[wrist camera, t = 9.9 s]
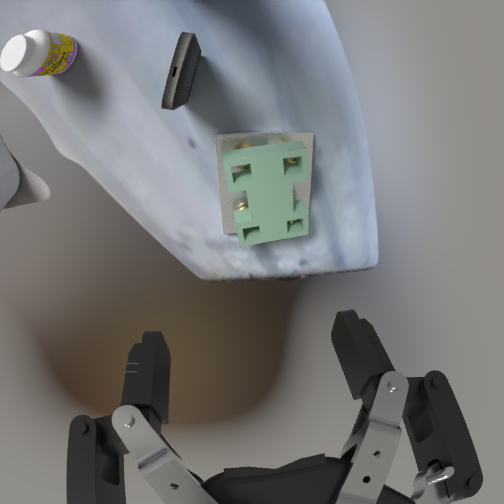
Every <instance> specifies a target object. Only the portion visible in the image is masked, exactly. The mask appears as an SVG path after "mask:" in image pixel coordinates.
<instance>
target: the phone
mask: <svg viewBox="0 0 504 504" xmlns="http://www.w3.org/2000/svg"><path fill="white" fill-rule="evenodd" d="M200 56H201V49H200V46H199V43H198V41H197V38H196V35H195V34H194V33H187V32H182V33H181V35H180V37H179V40H178V43H177V46H176V49H175V53H174V56H173V60H172V63H171V67H170V71H169V74H168V78H167V82H166V86H165V90H164V94H163V99H162V109H170V110H175V109H177V108H178V107H180V106H182V105H184V104H186V103H187V102H188V99H189V95H190V92H191V88H192V84H193V80H194V77H195V73H196V70H197V66H198V63H199V59H200Z"/></svg>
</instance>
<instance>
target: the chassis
mask: <svg viewBox="0 0 504 504" xmlns="http://www.w3.org/2000/svg"><path fill="white" fill-rule="evenodd" d="M300 140H301V141H302V142H303V143H304V144H305V146H306V147H307V148H308V167H309V180H306V181H299V182H292V185H293V201H294V200H301V199H303V200H304V202H305V204H306V206H307V208H308V210H309V202H310V188H311V172H312V154H313V132H311V131H255V132H236V133H222V134H216V146H217V160H218V174H219V186H220V198H221V210H222V221H223V232H224V234H231V233H237V229H236V224H235V217H234V211H236V210H241V209H247V208H248V202H247V196H246V190H243V191H237V192H232V193H229V190H228V185H227V180H226V175H225V171H224V166H223V159H222V152H225V151H231V150H236V149H242V148H248V147H255V146H261V145H268V144H275V143H283V142H291V141H300ZM292 163H296V157H291V158H284V159H283V164H284V165H285V164H292ZM231 170H232V173H235V172H240V171H246V170H250V167H249V164H245V165H239V166H233V167H231ZM288 222H289V224H293V223H294V220H290V221H288Z"/></svg>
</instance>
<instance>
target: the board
mask: <svg viewBox="0 0 504 504" xmlns="http://www.w3.org/2000/svg"><path fill="white" fill-rule="evenodd" d="M291 157H296V163H292V164H285V165H284V164H283V159H284V158H291ZM222 159H223V166H224V171H225V175H226V180H227V185H228V190H229V193H232V192H237V191H243V190H246V196H247V202H248V208H247V209H241V210H236V211H234V217H235V224H236V229H237V234H238V238H239V243H240V247H242V246H248V245H253V244H259V243H264V242H270V241H275V240H281V239H287V238H292V237H298V236H303V235H308V227H309V210H308V208H307V206H306V204H305V202H304V200H303V199H301V200H294V201H293V185H292V182H299V181H306V180H309V167H308V148H307V147H306V146H305V144H304V143H303V142H302V141H301V140H300V141H291V142H283V143H275V144H268V145H261V146H255V147H248V148H242V149H236V150H231V151H225V152H222ZM245 164H249V167H250V170H246V171H240V172H235V173H232V170H231V167H233V166H239V165H245ZM290 220H294V223H293V224H289V222H288V221H290Z"/></svg>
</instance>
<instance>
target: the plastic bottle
mask: <svg viewBox="0 0 504 504" xmlns="http://www.w3.org/2000/svg"><path fill="white" fill-rule="evenodd" d="M19 180H20V176H19V170H18V167H17V165H16V163H15V161H14V159H13V158H12V156H11V154H10V152H9V150H8V148H7V146H6V145H5V143H4V141H3V139H2V137H1V135H0V212H1V210H2V209H3V208H4V207H5V205H6V204H7V203H8V202H9V200H10V199H11V198H12V197H13V195H14V194H15V193H16V191H17V189H18V186H19Z"/></svg>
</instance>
